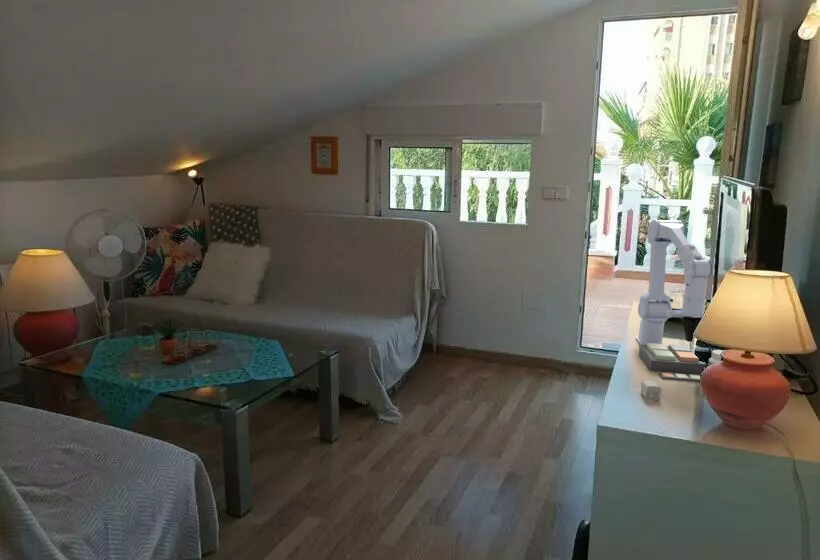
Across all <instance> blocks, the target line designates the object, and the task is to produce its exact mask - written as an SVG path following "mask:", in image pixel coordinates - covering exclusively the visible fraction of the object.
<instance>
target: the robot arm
mask: <svg viewBox="0 0 820 560" xmlns="http://www.w3.org/2000/svg"><path fill="white" fill-rule="evenodd" d="M684 232H685V225H684V223H683V221H682V220H680V219H676V220H673V219H672V220H671V219H654V218H653V219H652V220H651V221H650V223H649V225H648V227H647V243H648V244H650V256H649V257H650V259H649V274H648V275H649V281H648V291H647V292H645V293H644V294H643V295H641V296H640V298H639V303H638V306H637V313H638V316H639V317H640V318H641V320H640V322H639V331H638V336H635V339H636V341H637V342H638V343H639V345H640V344H642V345H647V343H656V344H664V343H663V336H664V329H665V322H667V321H668V319H672V318H679V319H680V321H681V322H682V325H683V329H684V337H685V340H686V342H693V340H694V337H695V336H694V337H693V333H694V331H695V329H696V327H697V325H698V323H699V322H700V320H701V318H702V316H703V314H704V312H706V311H704V308H705V299H706V291H707V284H708V279H710V278H711V277H712V275H713V273H714V265H713V262H712V261H711V259H710V258H706V257H703V256H702V254H701V252H700V251H699V250H698V248H697V247H696V246H695V244H693V243H689V241H688V239H687V238H686V235H685V233H684ZM672 244H673V245H674V246H675V248H676V249H677V252H676V255H677V257H678V258H679V260H680V261H681V263H682V265H683V273H684V283H685V288H684V296H683V304H682V309H672V304H671V297H670V296H668V295H667V294H666V292H665V281H666V265H667V264H666V262H667V261H666V260H667V248H668V247H669V246H670V245H672Z"/></svg>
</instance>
